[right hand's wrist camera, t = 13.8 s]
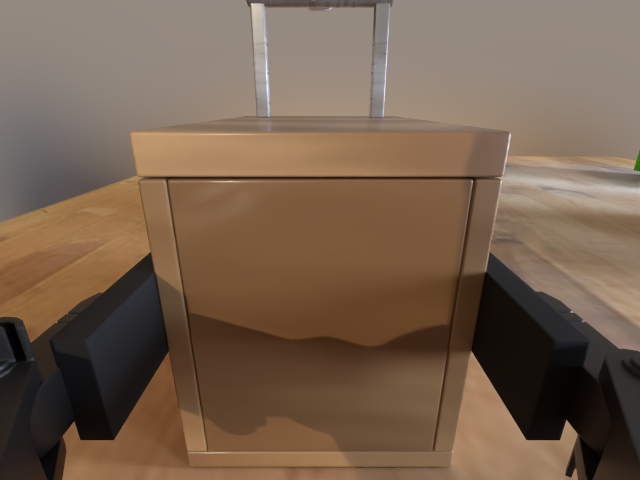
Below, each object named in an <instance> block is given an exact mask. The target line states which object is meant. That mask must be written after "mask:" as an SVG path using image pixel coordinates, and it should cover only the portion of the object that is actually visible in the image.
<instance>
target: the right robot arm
mask: <svg viewBox="0 0 640 480" xmlns="http://www.w3.org/2000/svg"><path fill="white" fill-rule="evenodd" d="M168 351H169V349H168V344H167V338H166V333H165V327H164V322H163V316H162V311H161V305H160V300H159V294H158V289H157V283H156V278H155V272H154V266H153V261H152V255H151V252H150V253H149V254H148V255H147V256H146V257H144V258H143V259H142V260H141V261H140V262H139V263H137V264H136V265H135V266H134V267H133V268H132V269H131V270H129V271H128V272H127V273H126V274H125V275H124V276H122V277H121V278H120V279H119V280H118V281H117V282H115V283H114V284H113V285H112V286H111V287H110V288H109V289H107V290H106V291H105V292H104V293H98V294H96V295H94V296H92V297H90V298H88V299H86V300H84V301H82V302H80V303H79V304H78V305H77V306H75V307H74V308H73V309H72V310H71V311H69V312H68V314H66V315H65V316H63V317H62V318H61V319H60V320H58V323H55V324H54V325H52V326H51V327H50V328H49V329H47V330H46V331H45V332H44V333H43V334H41V335H40V336H39V337H38V338H37V339H35V340H34V341H33V342H32V343H30V340H29V338H28V335H27V332H26V329H25V326H24V323H23V321H22V320H20V319H18V318H16V317H1V318H0V480H62V477H63V470H64V463H65V456H66V446H65V442H64V439H63V435H64V433H65V432H66V431H67V430H68V428H69V427H70V426H71V424H72V423H73V422H74V421H75V424H76V427H77V430H78V433H79V436H80V439H81V440H114V439H115V437H116V436H117V434H118V432H119V431H120V429H121V428H122V426H123V424H124V423H125V421H126V419H127V418H128V416H129V415H130V413H131V411H132V410H133V408H134V406H135V405H136V403H137V402H138V400H139V398H140V397H141V395H142V393H143V392H144V390H145V389H146V387H147V385H148V384H149V382H150V380H151V379H152V377H153V376H154V374H155V372H156V371H157V369H158V368H159V366H160V364H161V363H162V361H163V359H164V358H165V356H166V355H167V353H168ZM472 352H473V354H474V356H475V357H476V359H477V360H478V362H479V364H480V365H481V367H482V368H483V370H484V372H485V373H486V375H487V377H488V378H489V380H490V381H491V383H492V385H493V386H494V388H495V390H496V391H497V393H498V394H499V396H500V398H501V399H502V401H503V403H504V404H505V406H506V407H507V409H508V411H509V412H510V414H511V415H512V417H513V419H514V420H515V422H516V424H517V425H518V427H519V428H520V430H521V432H522V433H523V435H524V437H525V438H526V440H560V438H561V435H562V432H563V429H564V426H565V422H566V419H567V421H568V422H569V423H570V425H571V426H572V427H573V428H574V430H575V431H576V432H577V433H578V436H577V439H576V442H575V445H574V448H573V451H572V454H571V457H570V459H569V462H568V465H567V469H566V474H565V475H566V476H568V477H572V474H573V471H574V469H577V476H578V480H640V352H639V351H634V350H628V349H618V348H617V347H616V346H615V345H614V344H612V343H611V342H610V341H609V340H607V339H606V338H605V337H604V336H603V335H601V334H600V333H599V332H598V331H596V330H595V329H594V328H593V327H591V326H590V325H589V324H588V323H587V322H583V319H582V318H580V317H579V316H578V315H577V314H575V313H573V311H572V310H571V309H569V308H568V307H567V306H566V305H564V304H563V303H562V302H561V301H559V300H557V299H555V298H553V297H551V296H549V295H547V294H545V293H543V292H535V291H534V290H533V289H532V288H531V287H530V286H528V285H527V284H526V283H525V282H524V281H523V280H522V279H520V278H519V277H518V276H517V275H516V274H515V273H513V272H512V271H511V270H510V269H509V268H508V267H506V266H505V265H504V264H503V263H502V262H501V261H500V260H498V259H497V258H496V257H495V256H494V255H493V254H491V253H490V252H489V258H488V263H487V269H486V274H485V280H484V285H483V291H482V296H481V302H480V307H479V313H478V318H477V324H476V329H475V335H474V341H473V346H472Z"/></svg>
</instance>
